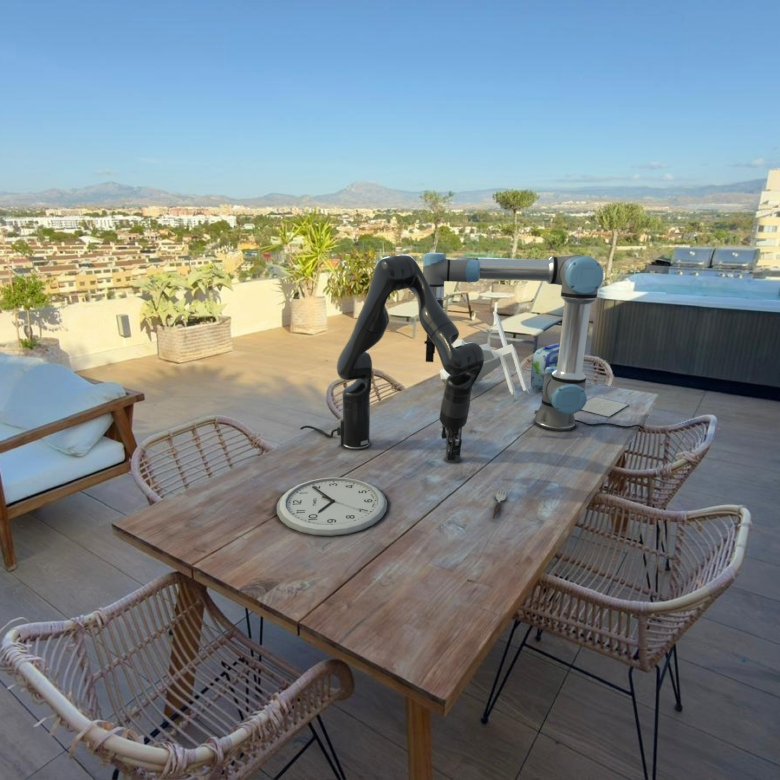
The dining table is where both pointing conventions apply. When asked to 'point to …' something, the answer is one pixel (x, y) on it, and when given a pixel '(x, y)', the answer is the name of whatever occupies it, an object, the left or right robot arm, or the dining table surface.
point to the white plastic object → (496, 360)
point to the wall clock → (331, 506)
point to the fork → (499, 498)
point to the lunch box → (543, 364)
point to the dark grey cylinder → (448, 449)
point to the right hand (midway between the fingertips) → (430, 357)
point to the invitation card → (603, 406)
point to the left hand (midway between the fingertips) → (447, 448)
